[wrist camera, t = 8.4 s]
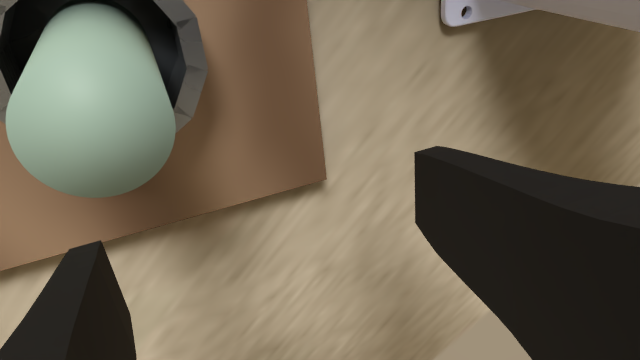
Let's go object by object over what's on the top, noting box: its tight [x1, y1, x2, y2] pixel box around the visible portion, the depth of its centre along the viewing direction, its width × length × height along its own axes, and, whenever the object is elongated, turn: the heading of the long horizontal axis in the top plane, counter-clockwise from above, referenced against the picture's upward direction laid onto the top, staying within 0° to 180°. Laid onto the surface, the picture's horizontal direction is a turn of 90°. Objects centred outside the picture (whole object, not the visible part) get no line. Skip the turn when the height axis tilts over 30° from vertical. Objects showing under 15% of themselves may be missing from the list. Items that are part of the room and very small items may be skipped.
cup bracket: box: [0, 0, 327, 271], centre depth 15 cm, size 14×14×5 cm
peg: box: [6, 0, 176, 198], centre depth 13 cm, size 3×3×7 cm
